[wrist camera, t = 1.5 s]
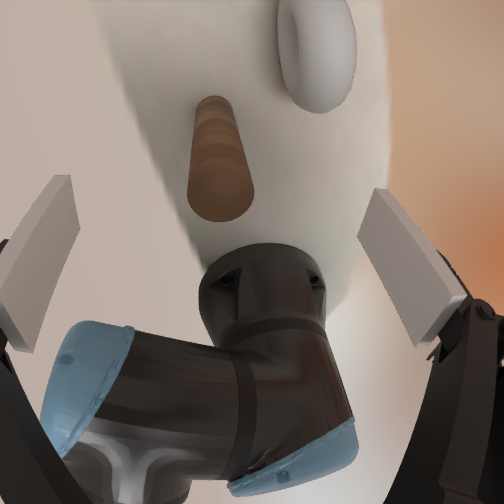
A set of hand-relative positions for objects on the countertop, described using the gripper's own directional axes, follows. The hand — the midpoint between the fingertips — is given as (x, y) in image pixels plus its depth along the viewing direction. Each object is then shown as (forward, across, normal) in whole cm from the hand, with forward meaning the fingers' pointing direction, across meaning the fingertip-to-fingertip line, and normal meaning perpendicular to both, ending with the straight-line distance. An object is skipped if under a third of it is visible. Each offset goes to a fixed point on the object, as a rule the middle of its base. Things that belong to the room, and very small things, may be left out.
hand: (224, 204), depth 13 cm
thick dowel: (+15, 0, 0) cm, 15 cm away
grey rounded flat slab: (+16, -6, -7) cm, 18 cm away
